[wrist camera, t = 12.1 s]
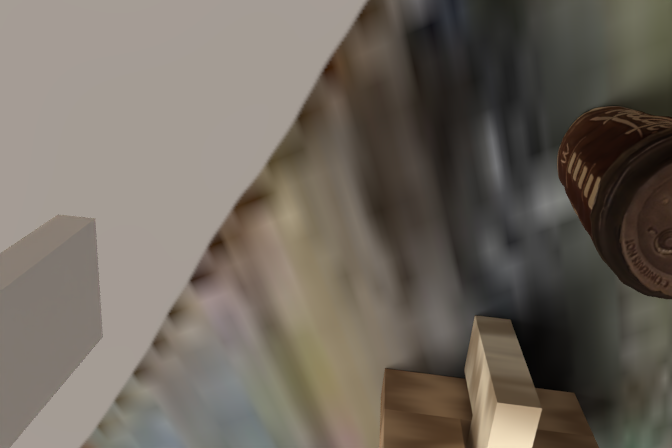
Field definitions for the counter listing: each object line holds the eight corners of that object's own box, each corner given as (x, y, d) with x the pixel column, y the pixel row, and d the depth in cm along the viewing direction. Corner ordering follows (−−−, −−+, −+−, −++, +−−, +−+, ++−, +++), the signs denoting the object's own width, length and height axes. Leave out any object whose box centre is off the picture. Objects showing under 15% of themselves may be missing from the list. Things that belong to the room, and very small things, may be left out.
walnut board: (574, 392, 46) (620, 496, 36) (566, 420, 46) (610, 528, 37) (385, 368, 46) (383, 463, 37) (381, 396, 47) (378, 496, 38)
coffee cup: (683, 203, 40) (810, 296, 28) (552, 234, 41) (619, 335, 29) (668, 70, 37) (801, 110, 25) (528, 108, 39) (590, 162, 27)
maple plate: (475, 315, 44) (497, 402, 35) (510, 319, 44) (542, 408, 35) (446, 459, 49) (459, 571, 39) (478, 464, 49) (498, 576, 39)
